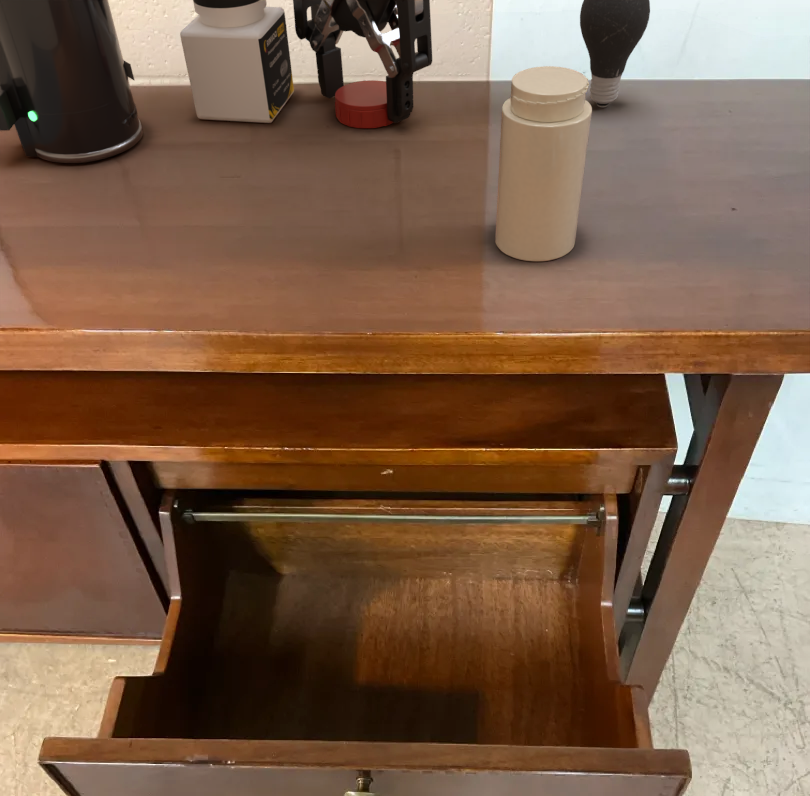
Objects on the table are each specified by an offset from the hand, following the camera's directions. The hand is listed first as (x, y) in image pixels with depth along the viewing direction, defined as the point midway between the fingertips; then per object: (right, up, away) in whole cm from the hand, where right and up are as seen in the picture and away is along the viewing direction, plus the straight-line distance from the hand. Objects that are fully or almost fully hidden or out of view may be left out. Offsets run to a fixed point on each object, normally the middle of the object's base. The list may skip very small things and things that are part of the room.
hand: (365, 106), depth 75 cm
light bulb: (+21, 0, 0) cm, 21 cm away
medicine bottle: (-11, +1, +2) cm, 11 cm away
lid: (0, 0, -1) cm, 1 cm away
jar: (+13, -18, -16) cm, 27 cm away
